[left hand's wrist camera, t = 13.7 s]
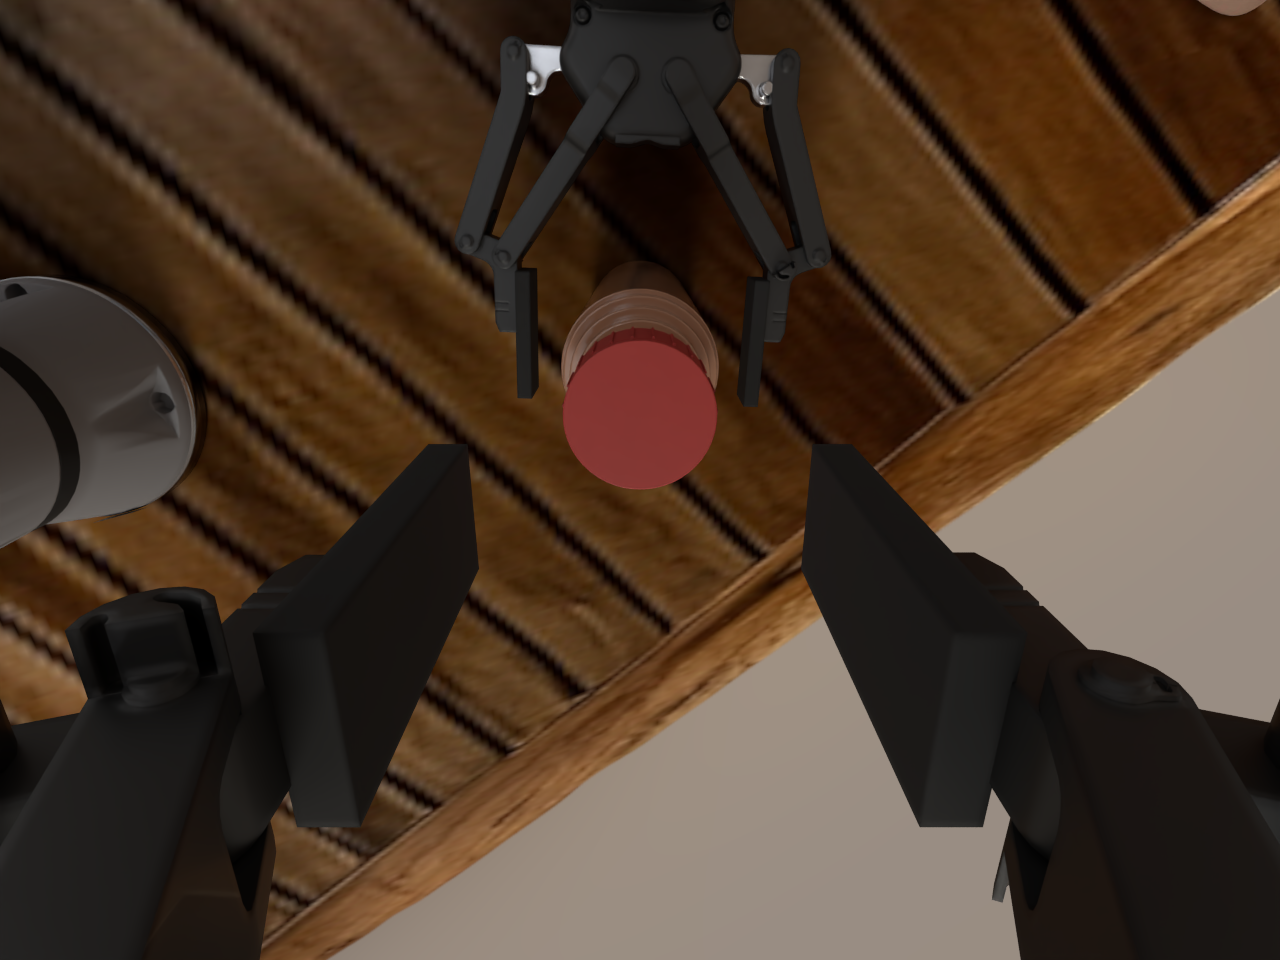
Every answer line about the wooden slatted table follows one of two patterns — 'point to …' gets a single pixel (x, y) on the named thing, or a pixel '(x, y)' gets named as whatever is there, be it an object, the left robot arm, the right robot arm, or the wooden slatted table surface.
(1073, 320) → the wooden slatted table surface
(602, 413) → the cap
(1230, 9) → the anatomical model
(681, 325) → the bottle
